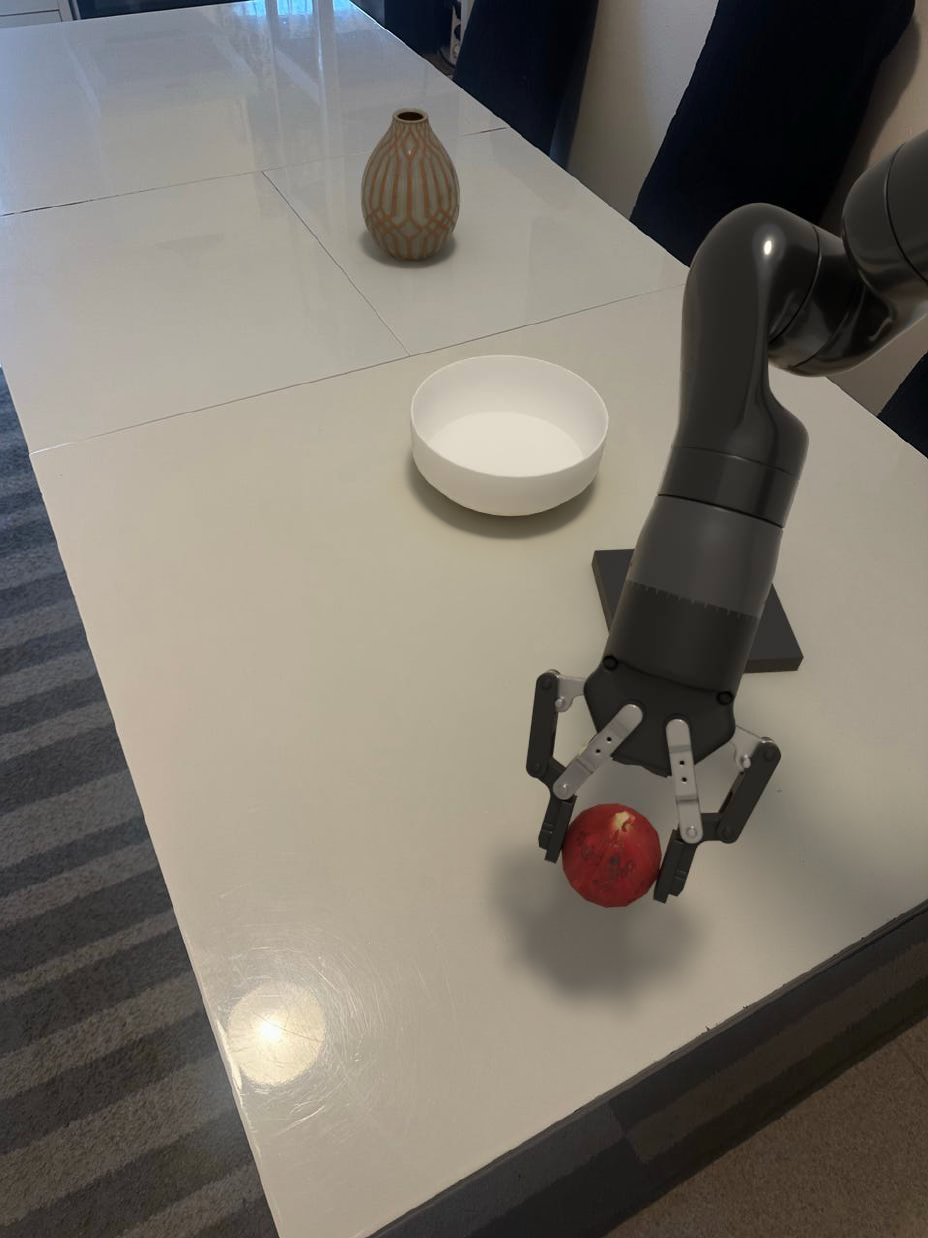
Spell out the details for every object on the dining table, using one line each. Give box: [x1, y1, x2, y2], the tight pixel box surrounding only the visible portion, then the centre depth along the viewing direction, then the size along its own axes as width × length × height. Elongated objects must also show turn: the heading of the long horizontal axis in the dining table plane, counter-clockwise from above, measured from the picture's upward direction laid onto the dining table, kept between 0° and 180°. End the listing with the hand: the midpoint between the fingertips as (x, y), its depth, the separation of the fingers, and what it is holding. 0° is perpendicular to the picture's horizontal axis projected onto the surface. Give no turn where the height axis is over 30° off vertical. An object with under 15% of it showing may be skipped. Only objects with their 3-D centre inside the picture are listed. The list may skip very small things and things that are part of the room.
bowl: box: [409, 354, 610, 517], centre depth 93 cm, size 20×20×8 cm
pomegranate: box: [560, 802, 663, 909], centre depth 53 cm, size 6×6×8 cm
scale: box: [591, 548, 805, 674], centre depth 84 cm, size 16×14×4 cm
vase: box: [360, 107, 461, 262], centre depth 120 cm, size 13×13×18 cm
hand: (605, 876), depth 52 cm, fingers closed on pomegranate, 5 cm apart
